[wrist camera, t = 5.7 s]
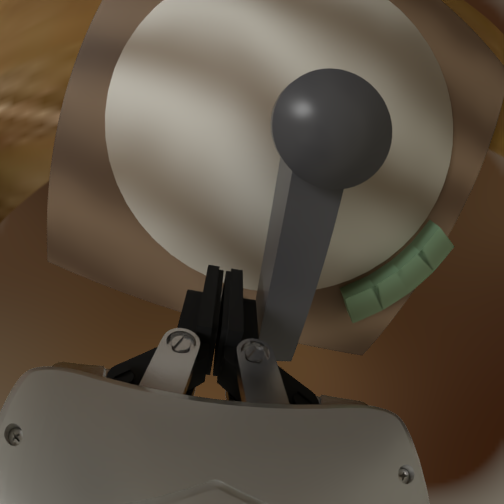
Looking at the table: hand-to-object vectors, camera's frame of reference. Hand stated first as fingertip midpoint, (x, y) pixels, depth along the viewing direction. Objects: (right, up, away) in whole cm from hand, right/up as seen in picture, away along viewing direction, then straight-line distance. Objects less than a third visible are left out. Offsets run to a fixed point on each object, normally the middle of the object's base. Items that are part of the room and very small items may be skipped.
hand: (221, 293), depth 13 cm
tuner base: (+4, +9, +2) cm, 10 cm away
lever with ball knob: (+3, +4, +1) cm, 5 cm away
